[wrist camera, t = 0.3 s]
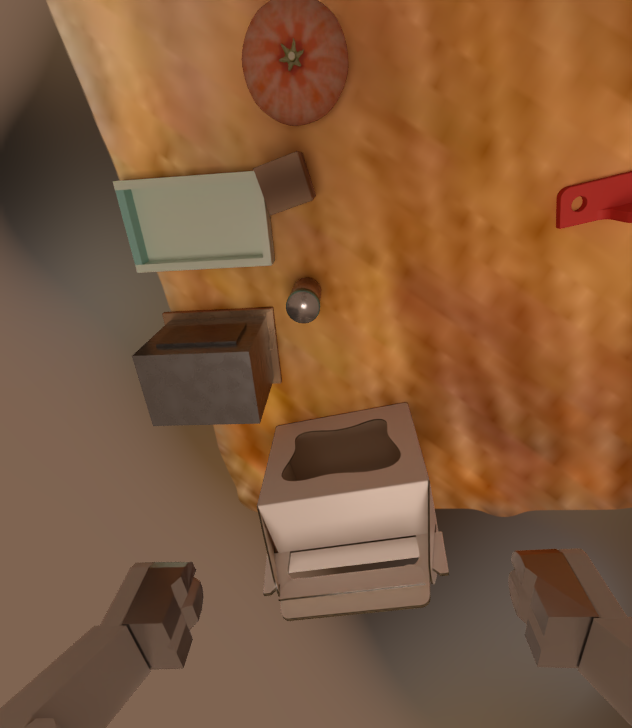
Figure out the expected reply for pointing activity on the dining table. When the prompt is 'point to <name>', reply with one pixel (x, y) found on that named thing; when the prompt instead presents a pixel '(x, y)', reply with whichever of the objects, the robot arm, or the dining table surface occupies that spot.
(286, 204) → the walnut block
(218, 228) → the tray
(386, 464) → the gable box
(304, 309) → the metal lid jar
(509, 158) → the dining table surface
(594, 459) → the dining table surface
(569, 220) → the bracket
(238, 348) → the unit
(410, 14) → the dining table surface
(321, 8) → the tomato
